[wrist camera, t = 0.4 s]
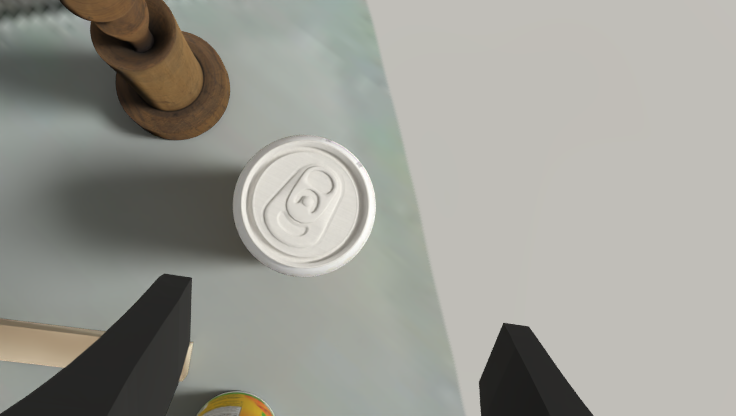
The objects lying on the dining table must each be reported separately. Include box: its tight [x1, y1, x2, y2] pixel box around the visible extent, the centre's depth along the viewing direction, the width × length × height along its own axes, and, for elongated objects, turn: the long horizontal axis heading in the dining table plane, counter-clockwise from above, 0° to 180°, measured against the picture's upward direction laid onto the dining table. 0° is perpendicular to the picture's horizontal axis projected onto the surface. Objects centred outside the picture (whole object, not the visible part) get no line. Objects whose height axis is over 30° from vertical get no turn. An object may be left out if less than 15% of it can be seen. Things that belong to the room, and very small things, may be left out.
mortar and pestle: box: [60, 0, 230, 140], centre depth 30 cm, size 7×6×18 cm
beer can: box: [233, 135, 376, 277], centre depth 32 cm, size 6×6×15 cm
